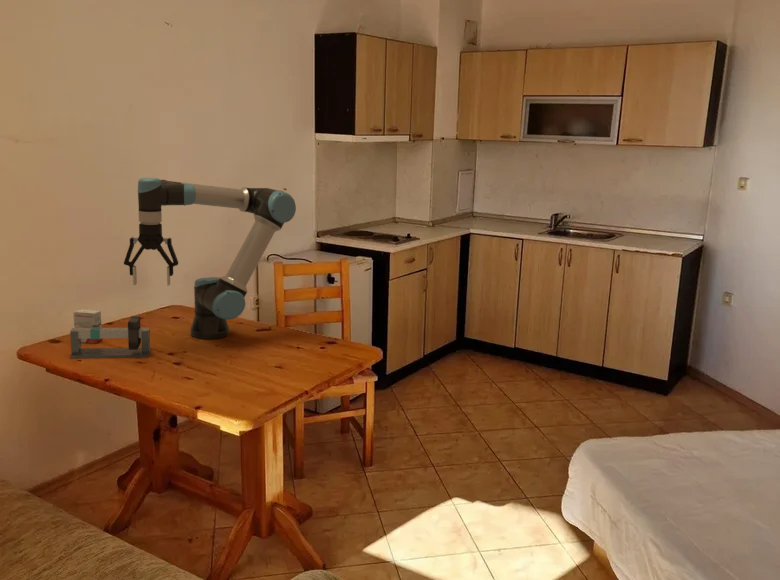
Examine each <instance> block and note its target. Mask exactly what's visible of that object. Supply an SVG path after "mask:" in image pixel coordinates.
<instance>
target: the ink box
mask: <svg viewBox="0 0 780 580" xmlns="http://www.w3.org/2000/svg"><path fill="white" fill-rule="evenodd" d="M73 324H74V325H73V326H74V327H73V328H92V327H101V328H103V327H102V310H94V309H93V310H92V309H82V308H81V309H77V310H75V311H73ZM101 341H103V338H100V339H91V338H84V339H81V343H85V344H86V343H88V344H97V343H100V342H101Z"/></svg>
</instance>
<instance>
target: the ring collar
mask: <svg viewBox="0 0 780 580" xmlns="http://www.w3.org/2000/svg"><path fill="white" fill-rule="evenodd" d="M127 328H128V338H127V339H128V340H127V341H128V348H129V350H138V348H140V345H142V341H141V338H138V328H142V326H141V316H138V315H137V316H133V315H131V316H130V319H128V321H127Z"/></svg>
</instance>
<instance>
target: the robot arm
mask: <svg viewBox="0 0 780 580" xmlns="http://www.w3.org/2000/svg"><path fill="white" fill-rule="evenodd" d="M137 198H138V199H137V200H138V201H137V202H138V222H139V224H138V236H137V237H134V236H131V237H130V238H129V246H128V249H127V251H126V255H125V258H124V261H123V265H124V266H128V267H129V275H130V276H132V283H133V286H136V285H137V282H138V281H137V265H135V264H136V262H137V260H138V259H139V258H140V256H141V255H142V253H143V252H144V250H147V251H149V250H152V251H155V250H157V251H158V252H159V254H160V255H161V257H162V258H163V260H164V261H165V263H166V264H167V267H166V282H167V286H171V277H173V275H174V267H177V266H178V265H179V260H178V257H177V255H176V254H177V253H176V252H175V249H174V246H173V243H172V242H173V240H172V238H171V237H164V236H163V229H162V227H163V225H162V220H163V219H162V217H163V216H162V210H163V209H162V206H163V207H165V206H191V205H200V206H201V205H202V206H208V207H209V206H210V207H220V208H229V209H239V211H240V212H243V213H249V214H253V217H254V223H253V224H252V226H251V228H250V230H249V232H248V233H247V236H246V237H245V239H244V242H243V243H242V245H241V246H240V248H239V250H238V253H237V254H236V256H235V258H234V260H233V262H232V263H231V265H230V267H229V269H228V271H227V272H226V274H225V275H224V276H219V277H218V276H217V277H215V276H212V277H210V276H209V277H200V278H197V279H196V280H195V281H194V284H193V285H194V286H193V289H194V290H193V291H194V315H193V321H192V323H191V326H190V331H189V333H190V336H191V337H193V338H195V339H200V340H201V339H202V340H216V338H217V339H221V338H225V337H228V334H229V335H230V327H229V323H228V322H227V320H234V319H236V318H238V317H240V316H241V315H242V313H243V312H244V310H245V308H246V299H245V297H246V295H247V294H248V288H247V284H248V283H249V281H250V280H251V277H252V276H253V274H254V272H255V270H256V268H257V266H258V264H259V262H260V261H261V259H262V257H263V255H264V253H265V251H266V249H267V248H268V246H269V244H270V242H271V240H272V239H273V237H274V235H275V233H276V232H278V231H281V230H282V228H283V227H284V224H285V223H288V222H290V221H291V220H292V219H293V218H294V216H295V214H296V210H297V208H296V207H297V206H296V202H295V199H294V198H293V196H292V195H290V193H288V192H285V191H283V190H278V189H272V188H268V187H245V186H244V187H241V188H240V189H239V188H231V187H225V186H223V187H221V186H214V185H207V184H198V183H190V182H189V183H188V182H179V181H172V180H167V179H160V178H157V177H141V178H139V179H138V182H137ZM138 242H139V244H140V245H141V246H140V248H139V249H138V251H137V252H136V253H135V255H134V257H133V258H132V260H131V261H130V259H131V256H132V253H133V250H134V247H135V244H137V243H138ZM163 242H164V244H165V245H167V248H168V249H167V250H168V251H169V255H170V256H171V258H170V257H169V256H168V254H167V253H166V251H165V250H164V248H163V246H162V244H163ZM224 336H225V337H224Z"/></svg>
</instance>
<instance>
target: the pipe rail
mask: <svg viewBox="0 0 780 580" xmlns="http://www.w3.org/2000/svg"><path fill="white" fill-rule="evenodd" d="M69 333H70V335H69V336H70V352H71V354H70V355H69V359H123V358H125V359H127V358H129V359H130V358H131V359H132V358H133V359H134V358H135V359H136V358H140V359H141V358H142V359H143V358H144V359H145V358H149V357H150V353H151V351H152V348H151V328H150V327H141V328H138V338H141V347H139V348H138V350H129V347H96V348H95V347H94V348H93V347H92V348H87V347H85V348H84V347H83V348H82V342H81V339H84V338H91V339H100V338H102V339H128V327H102V328H101V327H92V328H74V327H72V328H71V329H70V332H69Z"/></svg>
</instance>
